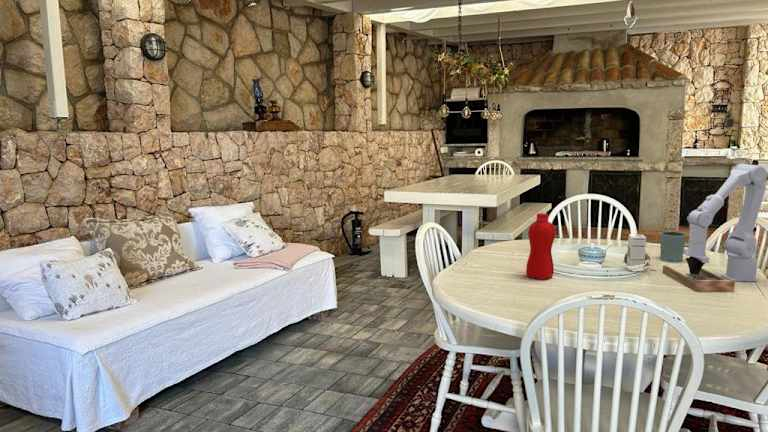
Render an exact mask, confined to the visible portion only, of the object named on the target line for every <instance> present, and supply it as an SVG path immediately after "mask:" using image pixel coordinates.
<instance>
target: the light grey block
mask: <svg viewBox="0 0 768 432" xmlns="http://www.w3.org/2000/svg"><path fill="white" fill-rule="evenodd" d="M627 253H628V251H627V252H626V253H625V254H624V260H623V261H624V262H625V263H626V262H627ZM647 259H649V261H650V260H651V259H650V255H649V253H647V252H646V251H645V260H647Z"/></svg>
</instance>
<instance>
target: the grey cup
mask: <svg viewBox="0 0 768 432" xmlns="http://www.w3.org/2000/svg"><path fill="white" fill-rule="evenodd" d="M659 235H660V237H659V238H660V254H659V255H660V261H663V262H668V263H681V262H682V263H683V258H684V249H685V245H686V241H687V240H686V239H687V237H688V236H687V233H686V232H681V231H675V230H674V231H673V230H666V231H665V230H664V231H661V232H660V234H659Z"/></svg>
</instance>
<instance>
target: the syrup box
mask: <svg viewBox="0 0 768 432" xmlns="http://www.w3.org/2000/svg"><path fill="white" fill-rule="evenodd" d="M627 240H628V243H627V252H628V253H627V252H626V253H627V263H626V267H627V266H635V265H640V264H645V252H646V244H647V243H646V242H647V237H646V236H645V235H644V234H643V233H642V234H639V233H630V234H628V239H627ZM644 272H645V270H644V271H643V272H642V273H644Z"/></svg>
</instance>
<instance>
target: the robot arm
mask: <svg viewBox="0 0 768 432" xmlns="http://www.w3.org/2000/svg"><path fill="white" fill-rule="evenodd" d="M767 178H768V171H767V169H766V168H765V167H764V166H763V165H761V164H756V165H755V164H746V163H742V162H741V163H738V164H736V165H735V166H734V167H733V169H731V171H730V175H729V176H728V177H727V179H726V180H725V182H724V183H723V184H722V185H721V186H720V188H719V189H718V190H717V192H716V193H715V194H710V195H708V196H706V197H705V200H704V201H703V202H702V203H701V204H700V205H699V206H698V207H697V208H696V209H694V210H692V211H691V212H690V213H689V214H688V216H686V220H687V222H688V224H689V225H688V226H689V237H688V246H687V248H684V252H683V255H685V256H687V257H685V260H686V263H687V266H688V269H689V274H698V275H699V272H700V270H701V268H703V266H704V265H705V264H710V257H709V256H707V254H706V248H707V246H706V245H707V237H708V228H709V226H710V225H712V223H713V221H714V220H713V219H714V217H715V215H716V214H717V212H718V211H719V210H720V209H721V208H722V207H723V206H724V205H725V199H726V198H727V197H728V196H729V195H730V194H731V193H733V192H734V191H735V190H736V189H737V188H738V187H739V186H742V185H744V187H745V189H746V190H747V191H746V194H745V197H744V201H743V205H742V207H741V211H740V215H739V218H738V220H737V221H738V222H737V225H736V226H735V227H736V228H735V229H734V230H733V231H731V232H730V233H729V235H728V237H727V239H726V240H725V241H724V244H723V247H724V249H725V251H726V254H727V261H726V271H725V273H721V274H720V277H722V278H723V277H724V279H726V280H734V281H735V282H757V281H758V280H757V272H758V260H757V259H756V257H754V255H755V254H756V252H757V241H758V240H757V238H756V237H755V235H754V234H753V233H754V229H755V225H756V222H757V219H758V215H759V212H760V209H761V207H762V206H761V205H762V202H763V199H764V196H765V194H766V193H765V192H766V188H767V183H766V181H767V180H768V179H767ZM688 256H689V257H688Z"/></svg>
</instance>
